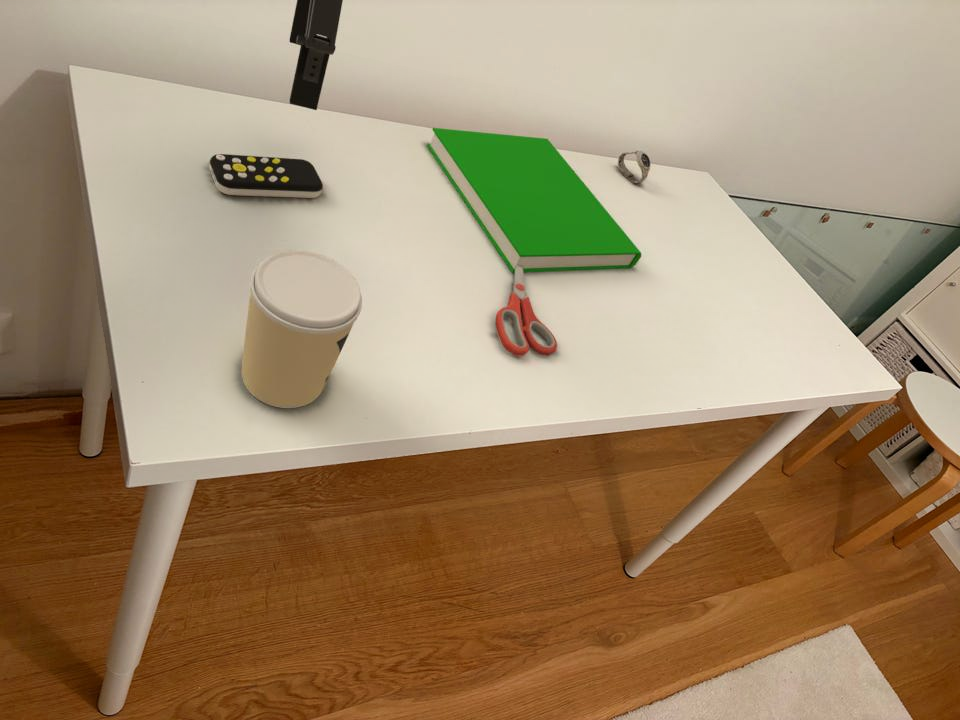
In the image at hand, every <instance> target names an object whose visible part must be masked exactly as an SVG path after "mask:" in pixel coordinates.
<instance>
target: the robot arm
mask: <svg viewBox="0 0 960 720" xmlns="http://www.w3.org/2000/svg"><path fill="white" fill-rule="evenodd" d="M343 1H344V0H296V4H295V9H294V15H293V19H292V25H291V29H290V34H289V35H290V36H289V43H290V44H294V45H297V46H300V48H299V53H298V57H297V63H296V67H295V71H294V77H293V81H292V86H291V90H290V91H291V92H290V96H289V104H290V105H294V106H297V107H301V108H305V109H310V110H313V111H317V110H318V106H319V101H320V96H321V93H322V89H323V84H324V81H325V76H326V71H327V67H328V63H329V59H330V56H333V55H334V54H335V52H336V48H337V47H336V42H337V35H338V30H339V25H340V24H339V23H340V19H341V13H342V6H343Z"/></svg>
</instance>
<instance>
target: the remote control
mask: <svg viewBox="0 0 960 720" xmlns="http://www.w3.org/2000/svg"><path fill="white" fill-rule="evenodd" d="M208 168H209V169H208V170H209V172H210V175H211V177H212V180H213V182H214V184H215V187H216V188H217V190H218V191H219V192H221V193H222V194H225V195H228V196H246V197H247V196H248V197H249V196H250V197H277V198H301V199H302V198H304V199H306V198H307V199H315V198H318V197H319V196H320V195H321V194H322V192H323V181H322V180H321V178H320V176H319V174H318V172H317V170H316V168H315V166H314V165H313V164H312V163H311V161H308V160H306V159H301V158H287V157H273V156H259V155H257V156H256V155H242V154H241V155H240V154H226V153H218V154H214V155H212V156H211V157H210V159H209V163H208Z"/></svg>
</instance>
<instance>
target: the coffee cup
mask: <svg viewBox="0 0 960 720" xmlns="http://www.w3.org/2000/svg"><path fill="white" fill-rule="evenodd" d="M249 283H250V285H249V289H250V294H249V295H250V296H249V300H248V301H249V302H248V309H247V316H246V325H245V333H244V342H243V350H242V359H241V379H242V381H243V384H244V386H245V388H246V389H247V391H248V392H249V394H251V395H252V396H253V397H254V398H255V399H257V400H258V401H260V402H262V403H263V404H265V405H268V406H271V407H275V408H279V409H296V408H302V407H305V406H307V405H309V404H311V403H312V402H314V401H315V400H317V398H319V396H320V395H321V393H322V392H323V391H324V388H325V386H326V385H327V382H328V380H329V378H330V376H331V375H332V374H331V373H332V372H333V370H334V367H335V365H336V363H337V361H338V359H339V357H340V355H341V352H342V350H343V348H344V346H345V343H346V341H347V339H348V337H349V336H350V333H351V331H352V328H353V326H354V323H355V322H356V320H358V317H359V316H360V313H361V310H362V306H363V297H362V296H363V295H362V292H361V288H360V286H359V283H358V281H357V279H356V278H355V276H354V275H353V273H351V272H350V271H349V270H348V269H347V267H345V266H344V265H342V264H341V263H339V262H338V261H336V260H334V259H333V258H330V257H329V256H326V255H324V254H321V253H317V252H313V251H308V250H301V249H300V250H298V249H290V250H283V251H279V252H276V253H273V254H271V255H269V256H267V257H266V258H265V259H264V260H262V261H261V262H260V263H259V264H258V265H257V266H256V267H255V269H254V270H253V272H252V274H251V277H250V282H249Z"/></svg>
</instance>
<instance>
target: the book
mask: <svg viewBox="0 0 960 720" xmlns="http://www.w3.org/2000/svg"><path fill="white" fill-rule="evenodd" d="M432 132H433V136H432V138H431V141H430V143H429V142H428V143H426V147H427V148H428V150H429V152H430V153H431V154H432V155H433V157H434V158H435V160H436V161H437V163H438V164H439V166H440V168H441V169H442V170H443V172H444V174H445V175H446V177H447V178H448V180H449V181H450V183H451V184H452V185H453V187H454V188H455V190H456V191H457V193H458V195H459V196H460V197H461V199H462V200H463V202H464V203H465V205H466V206H467V208H468V209H469V211H470V212H471V214H472V216H473V217H474V218H475V220H476V221H477V223H478V224H479V226H480V227H481V229H482V230H483V232H484V233H485V235H486V236H487V238H488V239H489V241H490V242H491V244H492V245H493V246H494V249H496V251H497V253H498V254H499V255H500V257H501V258H502V260H503V261H504V263H505V264H506V266H507V268H508V269H509V270H510V272H511V273H512V274H515V265H523V271H524V273H537V272H564V271H565V272H567V271H591V270H593V271H594V270H619V269H632V268H633V267H635V266H636V265H637V264H638V262H639V260H640V259H641V257H642V252H641V251H640V249H639V248H638V247H637V245H636V244H635V243H634V242H633V241H632V240H631V238H630V237H629V236H628V234H626V232H625V231H624V230H623V229H622V227H621V226H620V225H619V224H618V223H617V221H616V220H615V219H614V217H612V215H611V213H609V212H608V210H607V209H606V208H605V207H604V205H603V204H602V203H601V202H600V201H599V200H598V198H597V196H595V194H593V192H592V191H591V190H590V189H589V187H588V186H587V185H586V183H585V182H584V181H583V180H582V179H581V178H580V176H579V175H578V174H577V173H576V172H575V170H574V169H573V168H572V166H570V164H569V163H568V162H567V160H565V158H564V157H563V156H562V154H561V153H560V152H559V150H557V149H556V147H555V146H554V145H553V144H552V142H551V141H550V140H549V138H543V137H533V136H522V135H513V134H502V133H491V132H480V131H471V130H470V131H469V130H461V129H460V130H459V129H451V128H450V129H449V128H438V127H432Z"/></svg>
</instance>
